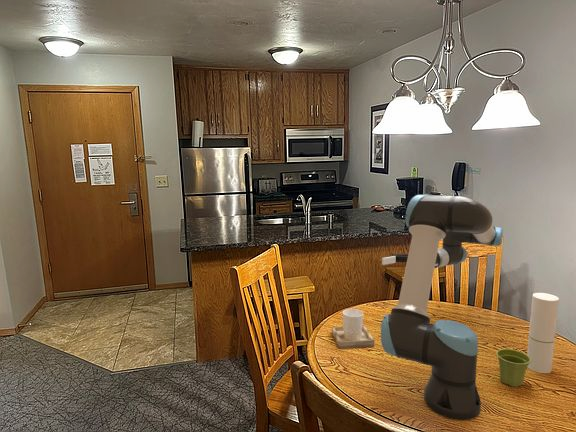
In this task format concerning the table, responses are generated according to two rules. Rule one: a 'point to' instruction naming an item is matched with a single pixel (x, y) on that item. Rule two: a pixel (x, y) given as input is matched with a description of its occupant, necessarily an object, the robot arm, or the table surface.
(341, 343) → the birch tray
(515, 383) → the plant pot
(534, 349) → the cylindrical container
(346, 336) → the white cup
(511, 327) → the table surface
